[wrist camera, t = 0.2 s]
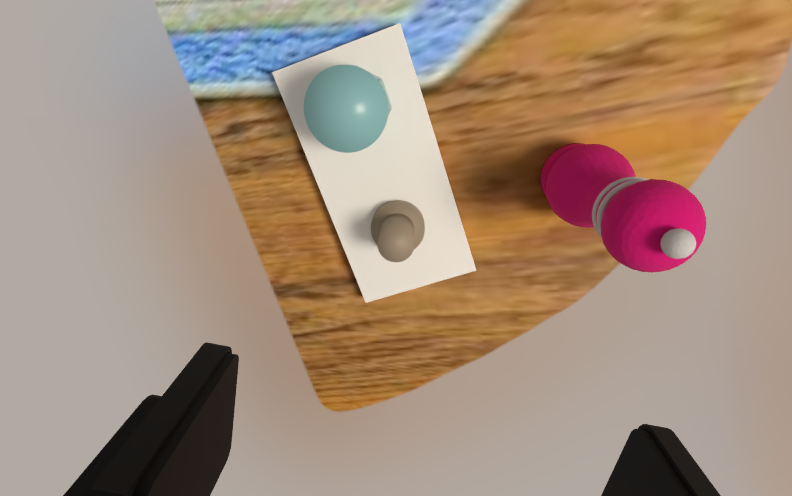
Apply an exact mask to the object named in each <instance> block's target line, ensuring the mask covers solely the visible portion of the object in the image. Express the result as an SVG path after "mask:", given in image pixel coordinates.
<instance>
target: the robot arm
mask: <svg viewBox="0 0 792 496" xmlns="http://www.w3.org/2000/svg"><path fill="white" fill-rule="evenodd" d="M238 361H239V357H238V355H235V354H232V350H231V348H230V347H228V346H222V345H217V344H212V343H204V344H203V345H202V346H201V348H200V349H199V350H198V351H197V353H196V354H195V355H194V357H193V358H192V359H191V360H190V362H189V363H188V364H187V365H186V367H185V368H184V369H183V370H182V372H181V373H180V374H179V375H178V377H177V378H176V379H175V380H174V382H173V383H172V384H171V385H170V387H169V388H168V389H167V391H166V392H165V393H164V394H163V396H157V395H150V396H148V397H147V398H146V399H145V400H143V401H142V403H141V404H140V405H139V406H138V408H137V409H136V410H135V411H134V412H133V413H132V415H131V416H130V417H129V418H128V419H127V420H126V422H125V423H124V424H123V425H122V426H121V428H120V429H119V430H118V431H117V432H116V434H115V435H114V436H113V437H112V438H111V440H110V441H109V442H108V443H107V444H106V445H105V447H104V448H103V449H102V450H101V451H100V453H99V454H98V455H97V456H96V457H95V459H94V460H93V461H92V462H91V463H90V464H89V466H88V467H87V468H86V469H85V470H84V472H83V473H82V474H81V475H80V476H79V478H78V479H77V480H76V481H75V482H74V484H73V485H72V486H71V487H70V488H69V490H68V491H67V492H66V493H65V494H64V495H63V496H210V494H211V492H212V490H213V488H214V486H215V484H216V482H217V480H218V478H219V475H220V473H221V472H222V470H223V468H224V466H225V464H226V461H227V459H228V456H229V452H230V449H231V441H232V430H233V418H234V406H235V396H236V384H237V373H238ZM602 496H720V494H719V493H718V492H717V490H716V489H715V488H714V486H713V485H712V484H711V482H710V481H709V480H708V478H707V477H706V475H705V474H704V473H703V471H702V470H701V469H700V467H699V466H698V465H697V463H696V462H695V461H694V459H693V458H692V456H691V455H690V454H689V452H688V451H687V450H686V448H685V447H684V446H683V444H682V443H681V442H680V440H679V439H678V437H677V436H676V435H675V433H674V432H673V431H672V430H670V429H668V428H664V427H658V426H653V425H648V424H643V425H641V426H639V428H638V429H634V430H633V431H632V432H631V434H630V436H629V438H628V440H627V442H626V444H625V446H624V448H623V451H622V453H621V455H620V457H619V459H618V461H617V463H616V465H615V468H614V470H613V472H612V474H611V476H610V478H609V481H608V483H607V485H606V487H605V489H604V491H603V493H602Z"/></svg>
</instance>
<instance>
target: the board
mask: <svg viewBox="0 0 792 496" xmlns="http://www.w3.org/2000/svg"><path fill="white" fill-rule="evenodd" d="M336 65H355V66H358V67H360V68H362V69H365V70H366V71H368V72H370V73H372V74H374V75H376V76H378V77H380V78H382V79H381V80H383V82H384V85H385V88H386V91H387V94H388V97H389V100H390V103H391V106H392V107H391V108H392V109H391V111H390V113H389V116H388V119H387V123H386V126H385V128H384V130H383V132H382V134H381V135H380V136H379V138H378V139H377V140H376V141H375V142H374V143H373V144H372V145H370V146H369V147H367V148H365V149H363V150H361V151H357V152H351V153H344V152H338V151H334V150H332V149H329V148H328V147H326V146H324V145H323V144H321V143H320V142H319V141H318V140H317V139H316V138H315V137H314V135H313V134H312V133H311V131H310V130H309V127H308V125H307V123H306V120H305V115H304V98H305V94H306V91H307V89H308V87H309V85H310V83H311V82H312V80H313V79H314V78H315V77H316V76H317V75H318V74H319V73H320V72H322V71H323V70H325V69H327V68H329V67H332V66H336ZM272 74H273V76H274V79H275V81H276V83H277V86H278V88H279V91H280V93H281V96H282V98H283V101H284V103H285V106H286V108H287V110H288V113H289V115H290V118H291V120H292V123H293V125H294V128H295V130H296V133H297V135H298V137H299V140H300V142H301V145H302V147H303V150H304V152H305V155H306V157H307V160H308V162H309V165H310V167H311V169H312V172H313V174H314V177H315V179H316V182H317V184H318V187H319V189H320V192H321V194H322V196H323V199H324V201H325V204H326V206H327V209H328V211H329V214H330V216H331V219H332V221H333V224H334V226H335V228H336V231H337V233H338V236H339V238H340V241H341V243H342V246H343V248H344V251H345V253H346V255H347V258H348V260H349V263H350V265H351V268H352V270H353V273H354V275H355V278H356V280H357V282H358V285H359V287H360V290H361V292H362V295H363V297H364V300H365V302H366V303H367V302H370V301H374V300H377V299H380V298H384V297H387V296H391V295H394V294H397V293H401V292H404V291H408V290H411V289H415V288H418V287H421V286H425V285H428V284H432V283H435V282H438V281H442V280H445V279H449V278H452V277H455V276H459V275H462V274H466V273H469V272H473V271H476V268H475V264H474V261H473V258H472V255H471V251H470V248H469V245H468V242H467V239H466V235H465V232H464V229H463V226H462V222H461V219H460V216H459V213H458V209H457V206H456V203H455V200H454V196H453V193H452V190H451V187H450V183H449V180H448V177H447V174H446V170H445V167H444V164H443V161H442V157H441V154H440V151H439V148H438V144H437V141H436V138H435V135H434V131H433V128H432V125H431V122H430V118H429V115H428V112H427V109H426V105H425V102H424V99H423V96H422V93H421V89H420V86H419V83H418V80H417V76H416V73H415V70H414V67H413V63H412V60H411V57H410V54H409V50H408V47H407V44H406V41H405V37H404V34H403V31H402V28H401V24H400V23H399V24H396V25H394V26H391V27H388V28H386V29H383V30H381V31H378V32H376V33H373V34H370V35H368V36H365V37H363V38H360V39H357V40H355V41H352V42H350V43H347V44H344V45H342V46H339V47H337V48H334V49H331V50H329V51H326V52H324V53H321V54H318V55H316V56H313V57H311V58H308V59H305V60H303V61H300V62H298V63H295V64H292V65H290V66H287V67H285V68H282V69H279V70H277V71H274V72H272Z"/></svg>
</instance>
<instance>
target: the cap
mask: <svg viewBox="0 0 792 496" xmlns="http://www.w3.org/2000/svg"><path fill="white" fill-rule="evenodd" d="M381 79H382V78H380V77H378V76H376V75H374V74H372V73H370V72H368V71H366V70H365V69H362V68H360V67H358V66H355V65H336V66H332V67H329V68H327V69H325V70H323V71H322V72H320V73H319V74H318V75H317V76H316V77H315V78H314V79H313V80H312V82H311V83H310V85H309V87H308V89H307V91H306V94H305V98H304V115H305V120H306V123H307V125H308V127H309V130H310V131H311V133H312V134H313V135H314V137H315V138H316V139H317V140H318V141H319V142H320V143H321V144H323V145H324V146H326V147H328V148H329V149H332V150H334V151H338V152H344V153H351V152H357V151H361V150H363V149H365V148H367V147H369V146H370V145H372V144H373V143H374V142H375V141H376V140H377V139H378V138H379V136H380V135H381V134H382V132H383V130H384V128H385V126H386V123H387V119H388V116H389V113H390V111H391V109H392V108H391V107H392V106H391V103H390V100H389V97H388V94H387V91H386V88H385V85H384V82H383V80H381Z"/></svg>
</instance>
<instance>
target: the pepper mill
mask: <svg viewBox="0 0 792 496" xmlns="http://www.w3.org/2000/svg"><path fill="white" fill-rule="evenodd" d="M541 186H542V190H543V192H544V194H545V196H546V197H547V199H548V202H549V204H550V207H551V208H552V210H553V211H554V212H555V214H557V215H558V216H559V217H560V218H561V219H563V220H564V221H566V222H568V223H570V224H572V225H575V226H579V227H595V230H596V231H597V233H598V234H599V235H600V236H601V237H602V240H603V243H604V245H605V247H606V249H607V251H608V252H609V253H610V254H611V255H612V256H613V257H614V258H615V259H616V260H617V261H618V262H620V263H621V264H623V265H625V266H627V267H629V268H631V269H634V270H638V271H642V272H661V271H665V270H670V269H672V268H675V267H677V266H679V265H681V264H682V263H684V262H685V261H687V260H688V259H689V258H691V257H692V255H693V254H694V253H695V252H696V251H697V249H698V248H699V246H700V244H701V243H702V241H703V238H704V234H705V229H706V217H705V213H704V210H703V207H702V205H701V204H700V202H699V201H698V200H697V198H696V197H695V196H694V195H693V194H692V193H691V192H690V191H688V190H687V189H686V188H684V187H682V186H681V185H679V184H676V183H674V182H670V181H667V180H654V179H650V180H647V179H645V178H641V177H635V173H634V170H633V169H632V167H631V165H630V163H629V162H628V160H627V159H626V158H625V157H624V156H623V155H622V154H620V153H618V152H617V151H615V150H614V149H612V148H610V147H607V146H604V145H599V144H587V145H586V144H569V145H566V146H563V147H561V148H560V149H558V150H556V151H555V152H554V153H553V154H552V155H551V156H550V157H549V158H548V159H547V161H546V162H545V164H544V166H543V169H542V172H541Z"/></svg>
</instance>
